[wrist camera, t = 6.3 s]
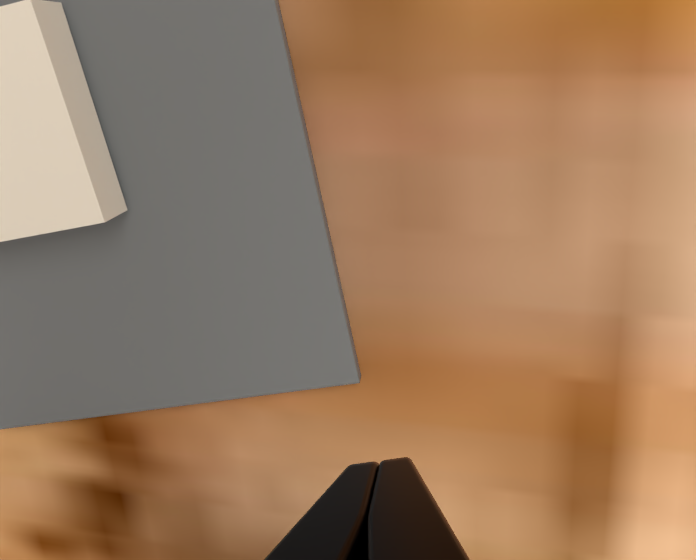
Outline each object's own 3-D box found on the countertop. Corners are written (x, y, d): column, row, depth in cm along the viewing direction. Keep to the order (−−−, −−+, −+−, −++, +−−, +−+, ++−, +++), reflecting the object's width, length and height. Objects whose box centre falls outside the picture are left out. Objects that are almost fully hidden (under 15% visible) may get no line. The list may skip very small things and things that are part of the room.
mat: (360, 375, 22) (359, 382, 21) (6, 422, 24) (-2, 429, 23) (219, -264, 16) (213, -273, 16) (-226, -123, 18) (-243, -127, 18)
